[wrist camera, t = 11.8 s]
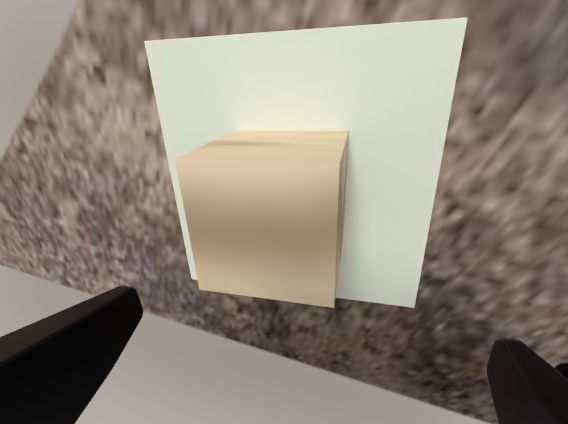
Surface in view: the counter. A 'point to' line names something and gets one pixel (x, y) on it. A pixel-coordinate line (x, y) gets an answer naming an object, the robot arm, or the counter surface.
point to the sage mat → (330, 125)
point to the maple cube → (267, 213)
